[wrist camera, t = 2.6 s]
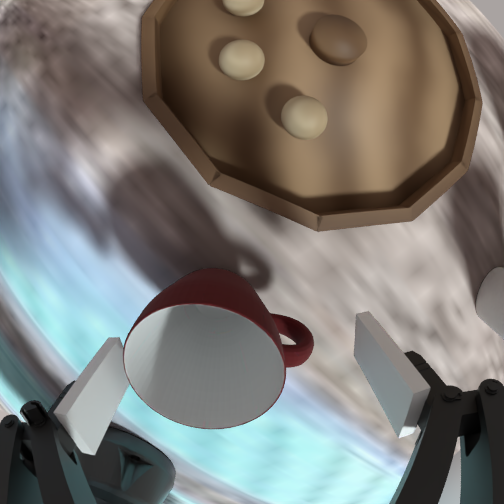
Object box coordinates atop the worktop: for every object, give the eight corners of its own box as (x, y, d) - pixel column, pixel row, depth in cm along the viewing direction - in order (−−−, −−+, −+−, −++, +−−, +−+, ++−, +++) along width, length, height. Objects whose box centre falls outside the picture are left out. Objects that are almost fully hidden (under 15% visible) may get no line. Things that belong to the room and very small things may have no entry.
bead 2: (222, 88, 17) (219, 73, 14) (218, 53, 16) (215, 34, 14) (265, 84, 17) (269, 68, 14) (260, 49, 16) (263, 30, 14)
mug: (305, 251, 21) (352, 305, 12) (293, 342, 23) (320, 428, 14) (165, 244, 21) (110, 293, 11) (170, 337, 23) (136, 420, 13)
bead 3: (281, 144, 18) (288, 137, 15) (275, 103, 18) (281, 90, 15) (323, 141, 18) (336, 135, 15) (317, 101, 18) (329, 89, 15)
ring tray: (171, 242, 21) (160, 252, 18) (154, -37, 14) (147, -54, 11) (474, 209, 21) (494, 213, 18) (416, -26, 14) (428, -38, 11)
